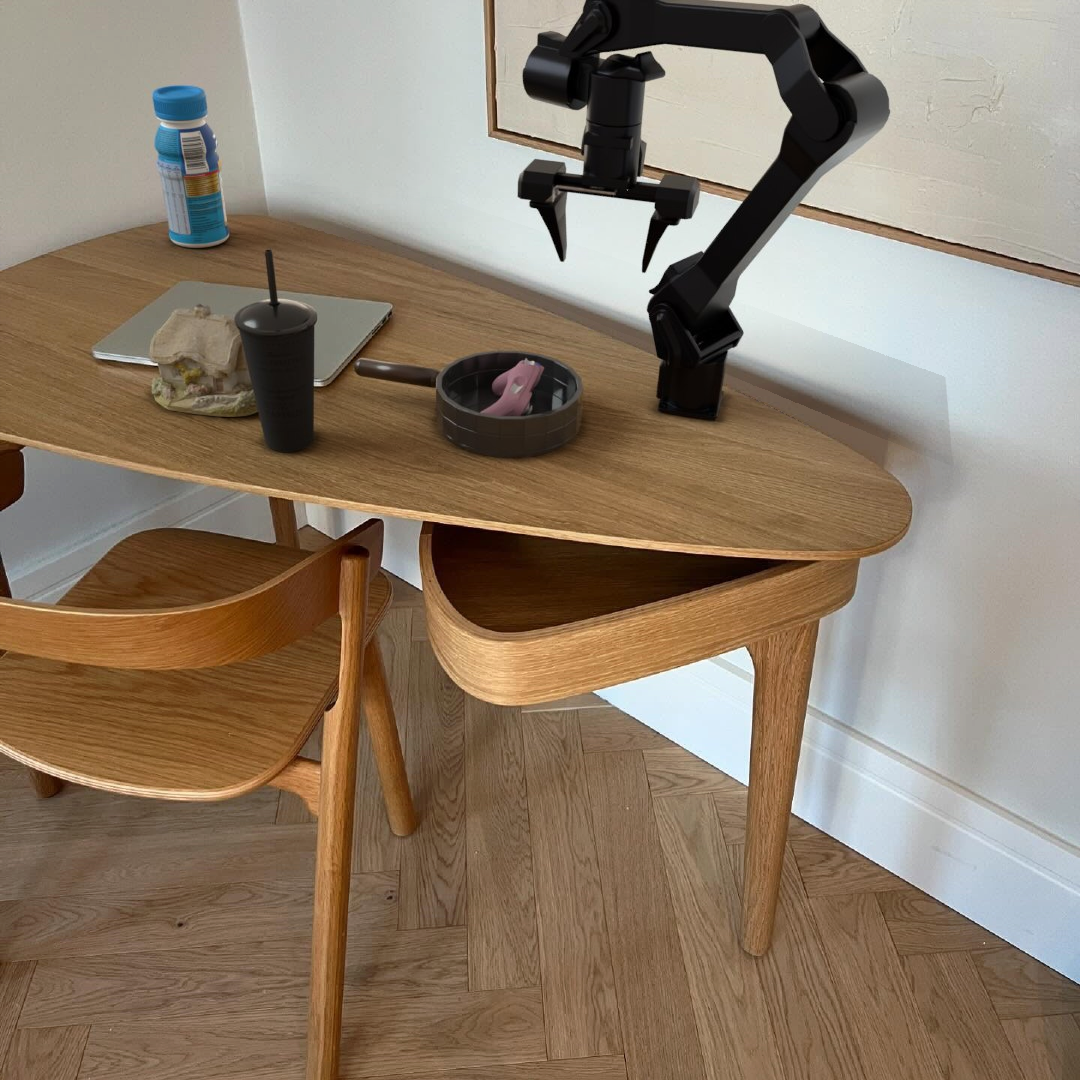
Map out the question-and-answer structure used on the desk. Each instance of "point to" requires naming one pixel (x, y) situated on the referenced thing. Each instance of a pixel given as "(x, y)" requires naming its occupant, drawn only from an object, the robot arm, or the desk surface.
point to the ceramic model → (201, 365)
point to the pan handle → (396, 372)
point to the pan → (507, 436)
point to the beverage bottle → (189, 168)
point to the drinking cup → (281, 365)
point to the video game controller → (515, 389)
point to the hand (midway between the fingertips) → (603, 265)
